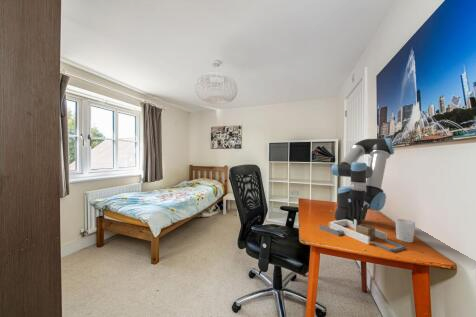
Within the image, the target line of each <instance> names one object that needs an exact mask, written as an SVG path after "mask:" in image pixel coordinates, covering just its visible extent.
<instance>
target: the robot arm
mask: <svg viewBox="0 0 476 317" xmlns="http://www.w3.org/2000/svg"><path fill="white" fill-rule="evenodd" d="M392 140H393V139H392V138H391V137H384V138H364V139H362V140H359V141H357V142H355V144H352V146H351V147H350V151H349V152H348V153H347V154H346V156H344V158H343V159H342V160H341V162H340V163H339V164H333V165H331V175H332V176H334V177H335V176H336V177H346V178H350V186H339V188H337V208H336V210H335V213H334V219H335V221H339V220H345V219H347V220H350V221H353V224H354V228H353V231H355V232H357V225H361V224H362V221H365V219H366V217H367V213H368V210H371V211H381V210H383V208H384V206H386V205H385V204H386V198H387V194H386V193H385V192H384V189H382V184H383V179H384V176H385V175H384V174H385V169H386V166H387V165H386V164H387V160H388V159H389V158H390V157H391V156H393V155H394V154H395V148H394V149H393V147H392ZM364 155H369V156H370V157H371V159H370V164H369V165H367V163H366V162H358V160H359V159H360V157H363V156H364Z"/></svg>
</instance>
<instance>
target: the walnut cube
mask: <svg viewBox="0 0 476 317" xmlns="http://www.w3.org/2000/svg"><path fill="white" fill-rule="evenodd" d="M375 229H376V227H374V226H371V225H369V224H365V223H361V225H357V231H356V232H358V233H360V234H363V235H365V236H368V237H370V241H372V240H375V239H376V236H375Z"/></svg>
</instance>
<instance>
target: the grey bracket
mask: <svg viewBox="0 0 476 317" xmlns="http://www.w3.org/2000/svg"><path fill="white" fill-rule="evenodd" d="M382 240H383V242H384V243H387V244H390V245H392V246H395V247H393V248H391V247H388V246H386V245H383V244H381V243H378V242H376V241H372V242H371V244H372V245H374V246H376V247H378V248H381V249H383V250H384V251H385V250H386V251H388V252H390V253H396V252H399V251H402V250H406V245H403V244H400V243H397V242H396V241H395V242H394V241H392V240H389V239H388V238H387V239H382Z"/></svg>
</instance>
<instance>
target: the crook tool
mask: <svg viewBox="0 0 476 317" xmlns="http://www.w3.org/2000/svg"><path fill="white" fill-rule="evenodd" d="M318 229H319V230H322V231H324V232H327V233H330V234H333V235H335V236H343V235H344V234H343V230H334V229H331V228H329V226H326V225H323V224H319V225H318Z"/></svg>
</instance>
